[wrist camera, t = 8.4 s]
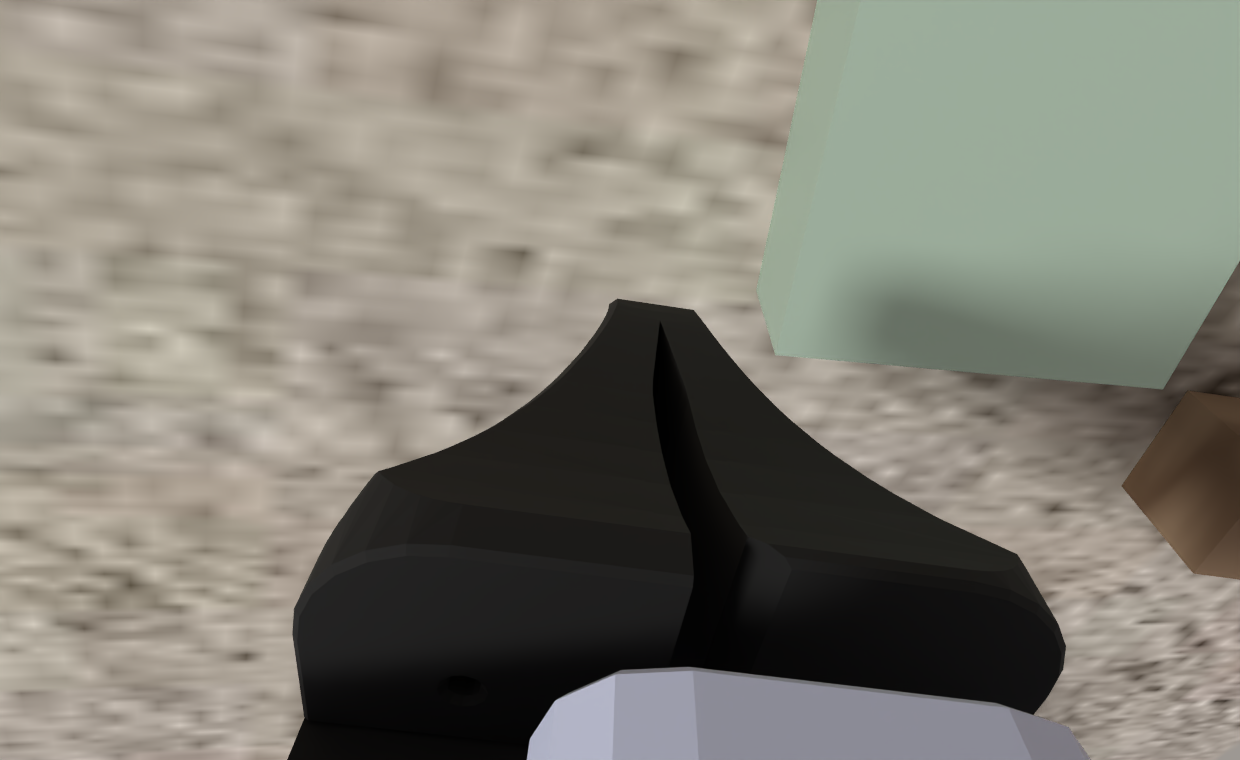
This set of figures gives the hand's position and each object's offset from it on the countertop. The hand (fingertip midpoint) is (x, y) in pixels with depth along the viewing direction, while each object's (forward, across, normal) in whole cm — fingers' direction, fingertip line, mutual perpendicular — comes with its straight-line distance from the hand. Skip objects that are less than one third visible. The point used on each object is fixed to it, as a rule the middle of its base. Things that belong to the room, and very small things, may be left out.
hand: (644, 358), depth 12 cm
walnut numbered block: (+10, -20, +6) cm, 23 cm away
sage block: (+10, -8, -2) cm, 13 cm away
